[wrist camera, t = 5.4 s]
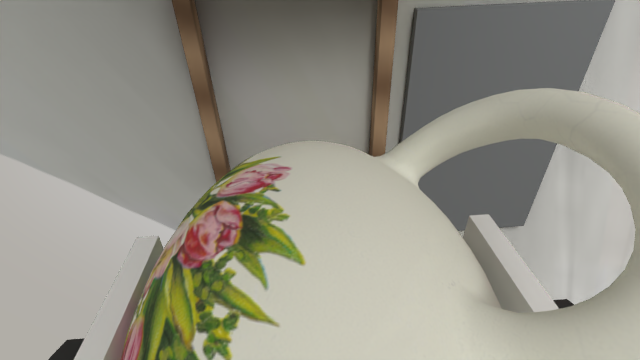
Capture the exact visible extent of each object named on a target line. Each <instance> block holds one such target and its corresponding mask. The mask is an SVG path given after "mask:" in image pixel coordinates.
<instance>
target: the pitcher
mask: <svg viewBox="0 0 640 360" xmlns="http://www.w3.org/2000/svg"><path fill="white" fill-rule="evenodd" d="M514 139H541V140H545V141H549V142H553V143H558V144H562V145H564V146H566V147H568V148H570V149H572V150H574V151H576V152H578V153H581V154H583V155H585V156H587V157H588V158H590V159H591V160H592V161H594V162H595V163H597V164H598V165H599V166H601V167H602V168H603V169H605V170H606V171H607V172H609V173H610V175H611V176H612V177H613V178H614V179H615V180H616V182H617V183H618V184H619V185H620V186H621V188H622V189H623V191H624V193H625V195H626V197H627V200H628V202H629V204H630V206H631V210H632V215H633V219H634V224H635V228H636V231H635V241H634V251H633V253H632V255H631V257H630V259H629V261H628V264H627V266H626V268H625V270H624V271H623V272H622V273H621V274H620V276H619V277H618V278H617V279H616V280H615V281H614V282H613V283H612V284H611V285H610V286H609V287H608V288H606V289H605V290H603V291H601V292H600V293H598V294H597V295H595V296H594V297H592V298H590V299H588V300H586V301H583V302H580V303H578V304H575V305H573V306H570V307H565V308H561V309H556V310H551V311H542V312H528V313H516V312H512V311H508V310H504V309H502V308H501V305H500V303H499V301H498V299H497V297H496V295H495V293H494V291H493V289H492V287H491V284H490V282H489V280H488V278H487V276H486V274H485V272H484V270H483V269H482V267H481V265H480V264H479V262H478V260H477V259H476V257H475V255H474V254H473V252H472V250H471V249H470V247H469V246H468V245H467V243H466V242H465V240H464V239H463V238H462V236H461V235H460V233H459V232H458V231H457V229H456V228H455V227H454V225H453V224H452V223H451V221H450V220H449V219H448V218H447V216H446V215H445V214H444V213H443V212H442V211H441V210H440V209H439V208H438V207H437V206H436V205H435V203H434V202H433V201H431V200H430V199H429V198H428V197H427V196H426V195H425V194H424V193H423V192H422V191H421V190H420V189H419V186H418V182H419V180H420V178H421V177H422V176H424V175H425V174H426V173H427V172H429V171H430V170H432V169H433V168H435V167H436V166H438V165H439V164H441V163H443V162H445V161H446V160H448V159H450V158H452V157H454V156H456V155H458V154H460V153H463V152H466V151H469V150H471V149H474V148H478V147H481V146H485V145H489V144H493V143H498V142H502V141H507V140H514ZM121 360H640V113H638V112H636V111H634V110H632V109H630V108H628V107H626V106H624V105H622V104H620V103H617V102H614V101H610V100H607V99H604V98H601V97H598V96H595V95H592V94H589V93H586V92H579V91H571V90H563V89H555V88H538V89H523V90H515V91H510V92H505V93H501V94H496V95H492V96H489V97H486V98H483V99H480V100H477V101H473V102H471V103H468V104H466V105H463V106H461V107H458V108H456V109H454V110H452V111H450V112H448V113H446V114H444V115H442V116H440V117H438V118H437V119H435V120H433V121H432V122H430V123H428V124H427V125H425V126H424V127H422V128H421V129H419V130H418V131H416V132H415V133H413V134H412V135H410V136H409V137H408V138H406V139H405V140H403V141H402V142H401V143H399V144H398V145H397V146H395V147H394V148H393V149H392V150H391V151H389V152H388V153H386V154H384V155H381V156H377V157H373V156H370V155H368V154H367V153H365V152H363V151H361V150H358V149H356V148H353V147H350V146H347V145H343V144H338V143H333V142H326V141H299V142H293V143H287V144H283V145H280V146H276V147H273V148H270V149H268V150H265V151H263V152H260V153H258V154H256V155H254V156H252V157H250V158H249V159H247V160H245V161H244V162H242V163H241V164H239V165H238V166H236V167H235V168H234V169H232V170H231V171H230V172H228V173H227V174H226V175H225V176H223V177H222V178H221V179H220V180H219V181H218V182H216V183H215V184H214V185H213V186H212V187H211V188H210V189H209V190H208V191H207V192H206V193H205V194H204V195H203V196H202V197H201V199H200V200H199V201H198V202H197V203H196V204H195V205H194V206H193V208H192V209H191V210H190V211H189V212H188V213H187V215H186V216H185V218H184V219H183V221H182V222H181V224H180V225H179V227H178V228H177V230H176V231H175V233H174V234H173V236H172V237H171V238H170V240H169V241H168V243H167V244H166V246H165V247H164V249H163V251H162V253H161V255H160V257H159V258H158V260H157V262H156V264H155V266H154V268H153V270H152V272H151V274H150V276H149V279H148V281H147V283H146V286H145V288H144V290H143V292H142V295H141V297H140V299H139V302H138V304H137V307H136V309H135V312H134V315H133V318H132V321H131V324H130V327H129V330H128V333H127V336H126V340H125V344H124V348H123V353H122V357H121Z"/></svg>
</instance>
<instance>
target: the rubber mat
mask: <svg viewBox="0 0 640 360" xmlns="http://www.w3.org/2000/svg"><path fill="white" fill-rule="evenodd" d="M614 2H615V0H578V1H557V2H535V3H514V4H493V5H471V6H450V7H428V8H415V9H414V18H413V27H412V36H411V45H410V54H409V63H408V71H407V80H406V89H405V98H404V107H403V116H402V125H401V133H400V142H399V143H401V142H402V141H403V140H405V139H406V138H408V137H409V136H410V135H412V134H413V133H415V132H416V131H418V130H419V129H421V128H422V127H424V126H425V125H427V124H428V123H430V122H432V121H433V120H435V119H437V118H438V117H440V116H442V115H444V114H446V113H448V112H450V111H452V110H454V109H456V108H458V107H461V106H463V105H466V104H468V103H471V102H473V101H477V100H480V99H483V98H486V97H489V96H492V95H496V94H501V93H505V92H510V91H515V90H523V89H538V88H555V89H563V90H571V91H579V88H580V86H581V83H582V81H583V79H584V76H585V74H586V71H587V69H588V66H589V64H590V61H591V59H592V56H593V54H594V52H595V49H596V47H597V44H598V42H599V39H600V37H601V34H602V32H603V29H604V27H605V24H606V22H607V20H608V17H609V15H610V12H611V10H612V7H613V5H614ZM556 145H557V143H553V142H549V141H545V140H541V139H514V140H507V141H502V142H498V143H493V144H489V145H485V146H481V147H478V148H474V149H471V150H469V151H466V152H463V153H460V154H458V155H456V156H454V157H452V158H450V159H448V160H446V161H445V162H443V163H441V164H439V165H438V166H436V167H435V168H433V169H432V170H430V171H429V172H427V173H426V174H425V175H424V176H422V177H421V178H420V180H419V182H418V186H419V189H420V190H421V191H422V192H423V193H424V194H425V195H426V196H427V197H428V198H429V199H430V200H431V201H433V202H434V203H435V205H436V206H437V207H438V208H439V209H440V210H441V211H442V212H443V213H444V214H445V215H446V216H447V218H448V219H449V220H450V221H451V223H452V224H453V225H454V227H455V228H456V229H457V231H461V230H465V229H466V225H467V222H468V218H469V215H485V214H489V215H490V216H491V218H492V219H493V220H494V222H495V223H496V224H497V226H498V227H499V228H500V227H513V226H524V224H525V221H526V219H527V216H528V214H529V211H530V209H531V206H532V204H533V201H534V199H535V196H536V194H537V192H538V189H539V187H540V184H541V182H542V179H543V177H544V174H545V172H546V169H547V167H548V165H549V162H550V160H551V157H552V155H553V152H554V150H555V147H556Z"/></svg>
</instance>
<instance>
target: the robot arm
mask: <svg viewBox="0 0 640 360" xmlns="http://www.w3.org/2000/svg"><path fill="white" fill-rule="evenodd" d="M463 239H464V240H465V242H466V243H467V245H468V246H469V247H470V249H471V250H472V252H473V254H474V255H475V257H476V259H477V260H478V262H479V264H480V265H481V267H482V269H483V270H484V272H485V274H486V276H487V278H488V280H489V282H490V284H491V287H492V289H493V291H494V293H495V295H496V297H497V299H498V301H499V303H500V305H501V308H502V309H504V310H508V311H512V312H516V313H528V312H542V311H551V310H556V309H561V308H565V307H570V306H573V305H574V304H572V303H571V302H570V301H569V300H567V299H563V300H552V298H551V297H550V296H549V294H548V293H547V292H546V290H545V289H544V288H543V286H542V285H541V284H540V282H539V281H538V280H537V278H536V277H535V276H534V274H533V273H532V272H531V270H530V269H529V267H528V266H527V265H526V263H525V262H524V261H523V259H522V258H521V257H520V255H519V254H518V253H517V251H516V250H515V249H514V247H513V246H512V245H511V243H510V242H509V241H508V239H507V238H506V237H505V235H504V234H503V233H502V231H501V230H500V229H499V227H498V226H497V224H496V223H495V222H494V220H493V219H492V218H491V216H490V215H489V214H485V215H469V218H468V222H467V225H466V229H465V232H464V235H463ZM162 251H163V246H162V244H161V241H160V238H159V236H150V237H137V238H136V240H135V242H134V244H133V246H132V248H131V250H130V252H129V254H128V256H127V258H126V260H125V261H124V263H123V265H122V268H121V269H120V271H119V273H118V275H117V277H116V279H115V281H114V283H113V285H112V287H111V289H110V290H109V292H108V295H107V296H106V298H105V300H104V302H103V304H102V306H101V308H100V310H99V312H98V314H97V316H96V318H95V320H94V322H93V324H92V325H91V327H90V329H89V331H88V333H87V335H86V337H85V339H72V340H67V341H66V342H65V343H64V344H63V345H62V346H61V347H60V348H59V349H58V350H57V351H56V352H55V353H54V354H53V355H52V356H51V357H50V358H49V360H121V357H122V353H123V348H124V344H125V340H126V336H127V333H128V330H129V327H130V324H131V321H132V318H133V315H134V312H135V309H136V307H137V304H138V302H139V299H140V297H141V295H142V292H143V290H144V288H145V286H146V283H147V281H148V279H149V276H150V274H151V272H152V270H153V268H154V266H155V264H156V262H157V260H158V258H159V257H160V255H161V253H162Z"/></svg>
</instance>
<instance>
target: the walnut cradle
mask: <svg viewBox="0 0 640 360" xmlns="http://www.w3.org/2000/svg"><path fill="white" fill-rule="evenodd" d="M172 3H173V7H174V11H175V15H176V19H177V23H178V28H179V32H180V36H181V40H182V44H183V48H184V52H185V56H186V60H187V64H188V68H189V72H190V76H191V80H192V84H193V89H194V93H195V97H196V101H197V105H198V109H199V113H200V117H201V121H202V125H203V129H204V133H205V137H206V141H207V145H208V150H209V154H210V158H211V162H212V166H213V170H214V174H215V178H216V182H218V181H219V180H220V179H221V178H222V177H223V176H225V175H226V174H227V173H228V172H230V171H231V170H230V165H229V161H228V156H227V151H226V147H225V142H224V137H223V132H222V128H221V123H220V118H219V114H218V109H217V104H216V100H215V95H214V90H213V85H212V81H211V76H210V71H209V67H208V62H207V57H206V53H205V48H204V43H203V38H202V34H201V29H200V24H199V20H198V15H197V10H196V6H195V1H194V0H172ZM397 9H398V0H378V7H377V24H376V42H375V59H374V77H373V94H372V111H371V129H370V146H369V155H370V156H373V157H377V156H381V155H384V154H385V146H386V135H387V123H388V112H389V101H390V89H391V78H392V66H393V55H394V43H395V32H396V20H397Z"/></svg>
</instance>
